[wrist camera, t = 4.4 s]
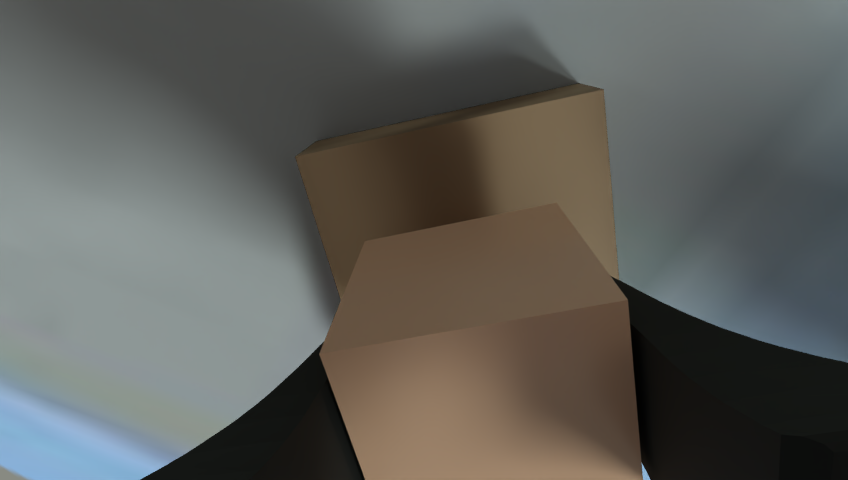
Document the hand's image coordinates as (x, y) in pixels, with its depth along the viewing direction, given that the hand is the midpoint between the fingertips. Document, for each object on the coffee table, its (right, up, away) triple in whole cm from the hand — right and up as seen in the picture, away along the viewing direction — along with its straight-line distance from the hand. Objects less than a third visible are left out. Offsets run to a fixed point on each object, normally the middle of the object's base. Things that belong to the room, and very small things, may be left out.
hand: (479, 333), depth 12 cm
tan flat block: (0, +3, +7) cm, 7 cm away
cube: (0, 0, +2) cm, 2 cm away
